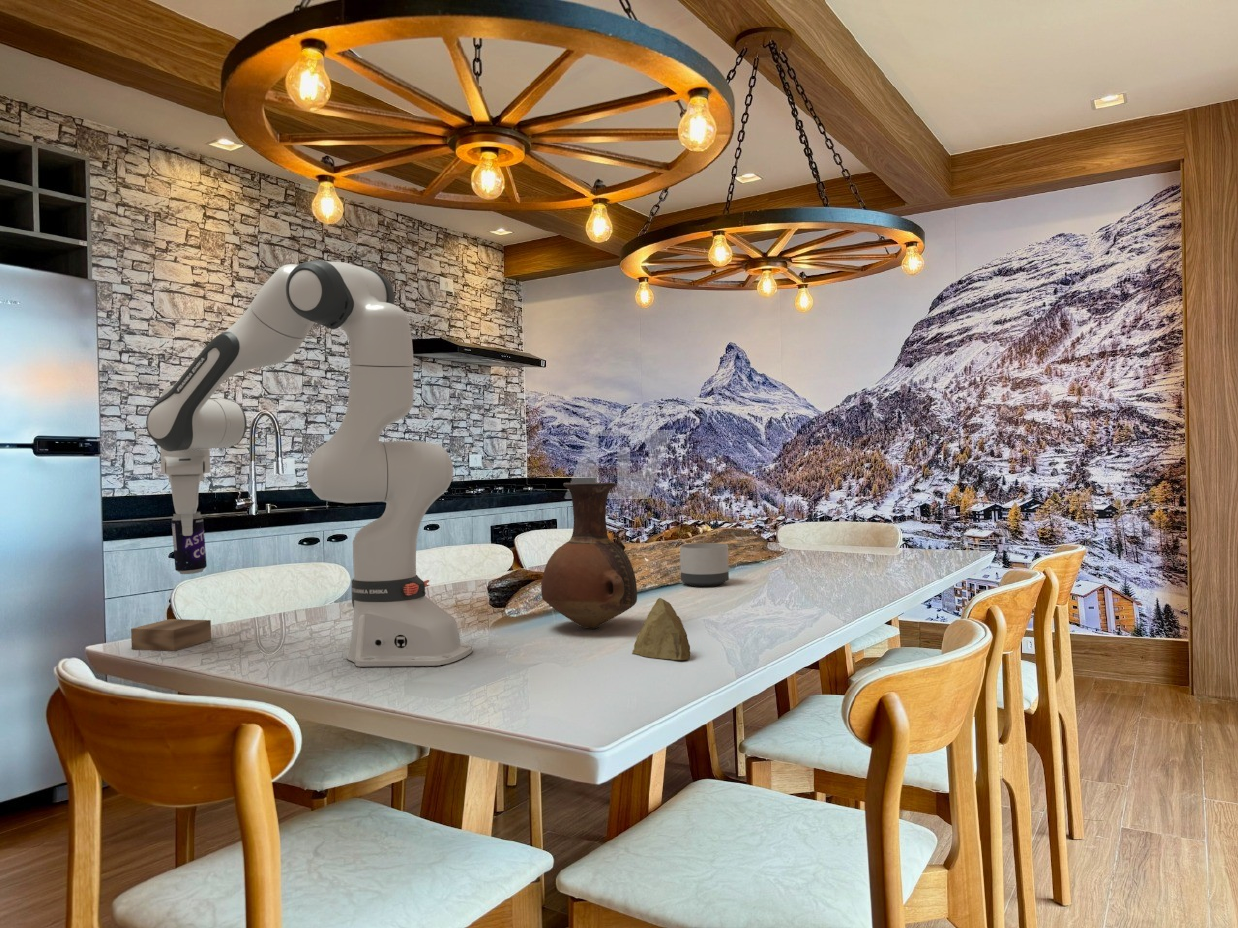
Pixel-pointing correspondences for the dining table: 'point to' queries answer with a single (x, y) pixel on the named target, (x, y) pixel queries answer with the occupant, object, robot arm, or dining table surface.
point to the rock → (662, 634)
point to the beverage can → (189, 546)
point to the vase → (589, 564)
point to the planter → (704, 564)
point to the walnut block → (171, 634)
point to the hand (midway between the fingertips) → (188, 533)
